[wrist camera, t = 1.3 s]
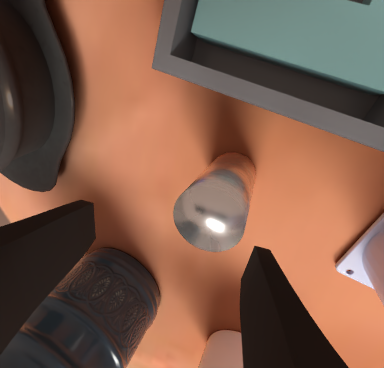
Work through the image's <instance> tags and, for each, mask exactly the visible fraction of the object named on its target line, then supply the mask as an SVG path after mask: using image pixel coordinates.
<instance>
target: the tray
mask: <svg viewBox="0 0 384 368" xmlns="http://www.w3.org/2000/svg"><path fill="white" fill-rule="evenodd" d="M152 68H153V69H156V70H158V71H161V72H164V73H167V74H169V75H172V76H175V77H178V78H180V79H183V80H186V81H189V82H192V83H194V84H197V85H200V86H203V87H205V88H208V89H211V90H214V91H216V92H219V93H222V94H225V95H228V96H230V97H233V98H236V99H239V100H241V101H244V102H247V103H250V104H252V105H255V106H258V107H261V108H264V109H266V110H269V111H272V112H275V113H277V114H280V115H283V116H286V117H288V118H291V119H294V120H297V121H300V122H302V123H305V124H308V125H311V126H313V127H316V128H319V129H322V130H324V131H327V132H330V133H333V134H336V135H338V136H341V137H344V138H347V139H349V140H352V141H355V142H358V143H360V144H363V145H366V146H369V147H372V148H374V149H377V150H380V151H383V152H384V0H164V5H163V10H162V16H161V21H160V27H159V32H158V37H157V43H156V48H155V54H154V59H153V64H152Z"/></svg>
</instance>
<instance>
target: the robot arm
mask: <svg viewBox="0 0 384 368" xmlns="http://www.w3.org/2000/svg"><path fill="white" fill-rule="evenodd" d="M95 238H96V236H95V221H94V205H93V203H91V202H87V201H83V200H79V201H75V202H72V203H69V204H66V205H63V206H60V207H57V208H54V209H52V210H49V211H46V212H43V213H40V214H37V215H34V216H32V217H29V218H26V219H23V220H20V221H17V222H14V223H11V224H8V225H5V226H1V227H0V355H1V354H2V352H3V351H4V350H5V348H6V347H7V346H8V344H9V343H10V342H11V340H12V339H13V338H14V336H15V335H16V334H17V332H18V331H19V330H20V329H21V327H22V326H23V325H24V323H25V322H26V321H27V319H28V318H29V317H30V316H31V314H32V313H33V312H34V311H35V310H36V309H37V307H38V306H39V305H40V304H41V303H42V302H43V301H44V299H45V298H46V297H47V296H48V295H49V294H50V293H51V292H52V291H53V290H54V288H55V287H56V286H57V285H58V284H59V283H60V282H61V281H62V280H63V278H64V277H65V276H66V275H67V274H68V273H69V272H70V271H71V270H72V269H73V267H74V266H75V265H76V264H77V263H78V262H79V261H80V259H81V258H82V257H83V256H84V254H85V253H86V252H87V250H88V249H89V247H90V246H91V244H92V243H93V241H94V240H95ZM335 267H336V270H337V271H338V272H339V273H341V274H344V275H346V276H348V277H350V278H352V279H354V280H356V281H358V282H360V283H362V284H364V285H366V286H368V287H371V288H373V289H375V291H376V293H377V295H378V296H379V298H380V300H381V302H382V304H383V306H384V213H383V214H382V215H381V216H380V217H379V218H378V219H377V220H376V221H375V222H374V223H373V225H372V226H371V227H370V228H369V229H368V230H367V231H366V232H365V233H364V234H363V235H362V236H361V237H360V238H359V240H358V241H357V242H356V243H355V244H354V245H353V246H352V247H351V248H350V249H349V250H348V251H347V252H346V253H345V254H344V256H343V257H342V258H341V259H340V260H339V261H338V262H337V263H336V265H335ZM346 270H351V271H346ZM240 320H241V338H242V355H243V368H348V366H347V365H346V364H345V362H344V361H343V360H342V359H341V357H340V356H339V355H338V353H337V352H336V351H335V349H334V348H333V347H332V345H331V344H330V343H329V341H328V340H327V339H326V337H325V336H324V334H323V333H322V331H321V330H320V329H319V327H318V326H317V324H316V323H315V321H314V320H313V319H312V317H311V316H310V314H309V313H308V311H307V310H306V308H305V307H304V305H303V304H302V302H301V300H300V299H299V297H298V296H297V294H296V293H295V291H294V289H293V288H292V286H291V285H290V283H289V281H288V280H287V278H286V276H285V275H284V273H283V271H282V270H281V268H280V266H279V264H278V263H277V261H276V259H275V258H274V256H273V254H272V253H271V251H270V250H269V249H265V248H261V247H257V246H254V249H253V251H252V254H251V256H250V259H249V261H248V264H247V266H246V269H245V271H244V274H243V276H242V278H241V289H240Z"/></svg>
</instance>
